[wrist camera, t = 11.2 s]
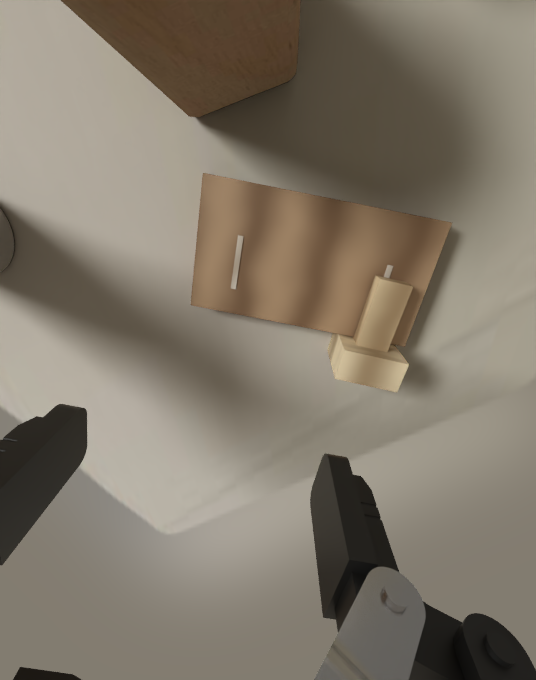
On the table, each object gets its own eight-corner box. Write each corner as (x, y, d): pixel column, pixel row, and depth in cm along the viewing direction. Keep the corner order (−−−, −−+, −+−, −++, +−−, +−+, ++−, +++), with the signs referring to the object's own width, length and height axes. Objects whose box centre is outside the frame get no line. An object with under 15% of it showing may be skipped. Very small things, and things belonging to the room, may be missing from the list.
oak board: (197, 298, 35) (190, 305, 32) (209, 175, 30) (202, 172, 28) (397, 337, 35) (405, 347, 33) (439, 221, 30) (452, 222, 28)
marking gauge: (327, 350, 36) (334, 378, 30) (354, 266, 32) (368, 279, 26) (379, 361, 36) (397, 392, 30) (411, 279, 33) (439, 296, 27)
